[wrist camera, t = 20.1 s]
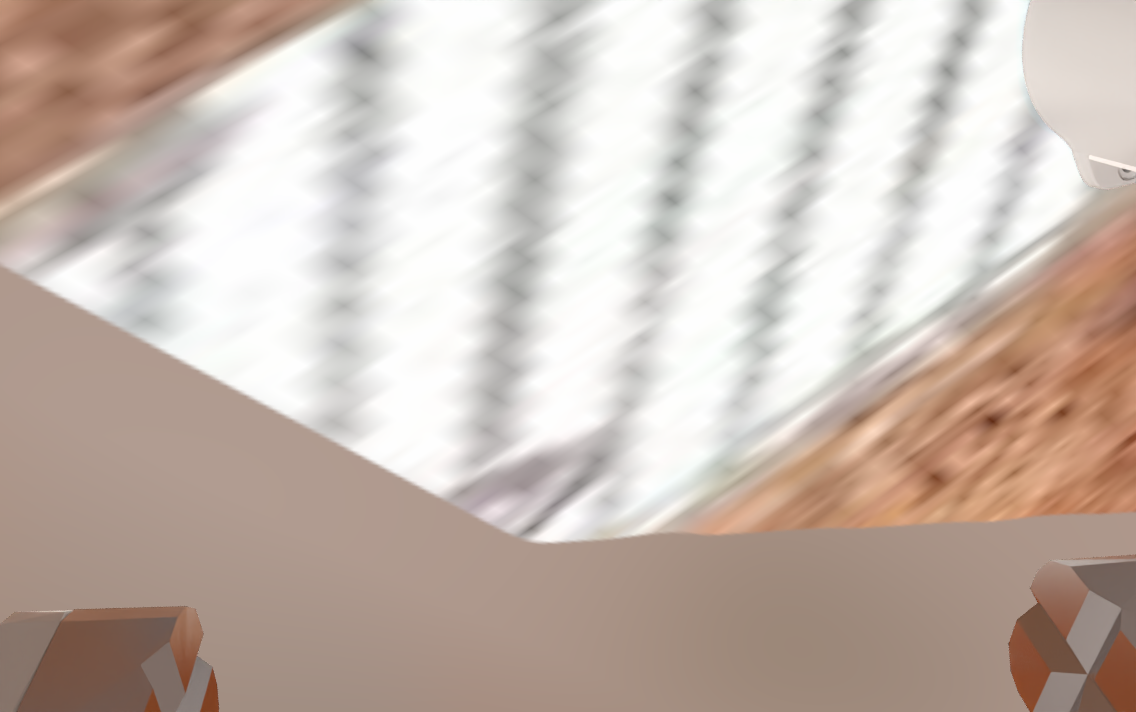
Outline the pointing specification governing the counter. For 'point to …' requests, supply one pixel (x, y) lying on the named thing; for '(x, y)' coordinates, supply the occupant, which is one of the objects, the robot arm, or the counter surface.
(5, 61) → the counter surface
